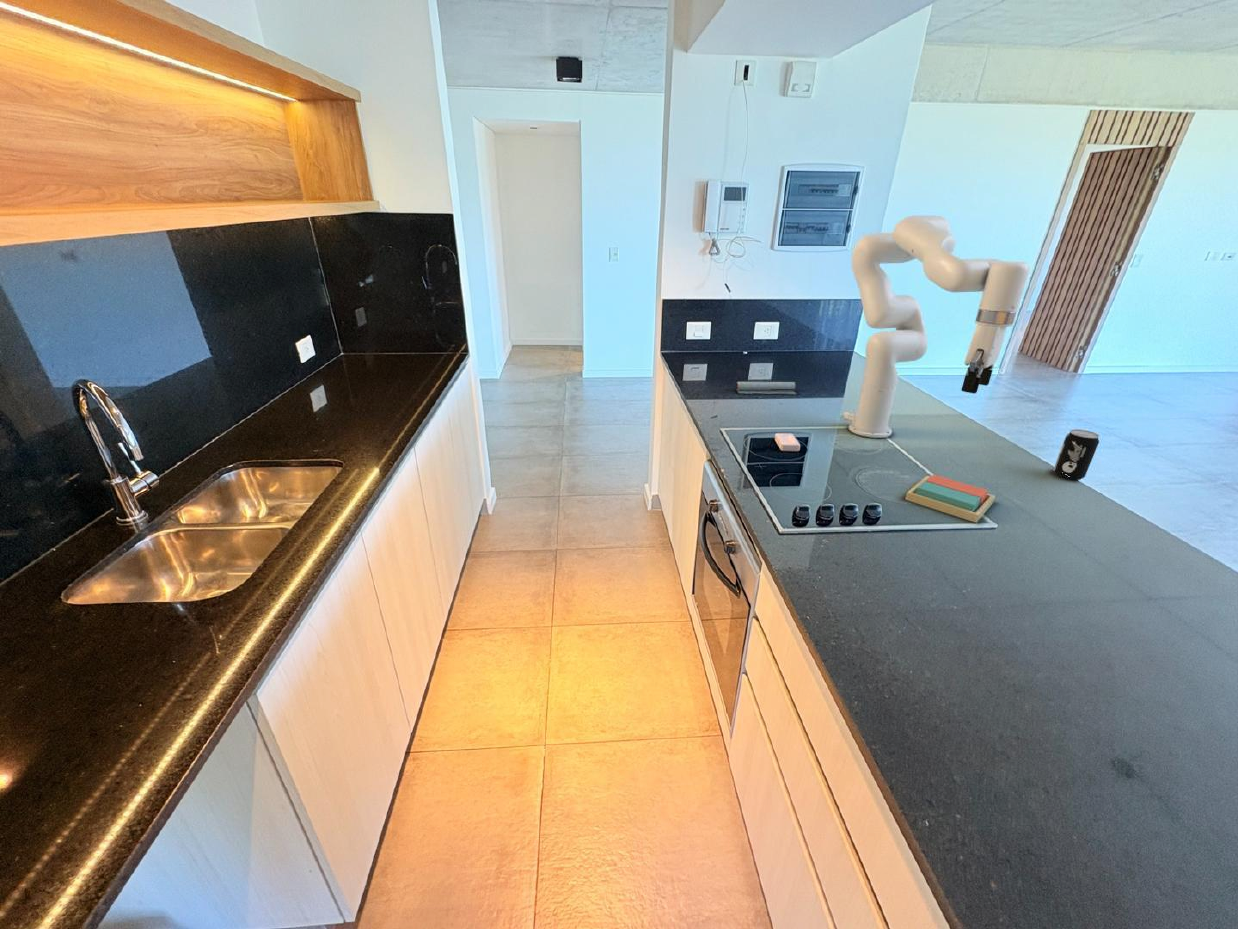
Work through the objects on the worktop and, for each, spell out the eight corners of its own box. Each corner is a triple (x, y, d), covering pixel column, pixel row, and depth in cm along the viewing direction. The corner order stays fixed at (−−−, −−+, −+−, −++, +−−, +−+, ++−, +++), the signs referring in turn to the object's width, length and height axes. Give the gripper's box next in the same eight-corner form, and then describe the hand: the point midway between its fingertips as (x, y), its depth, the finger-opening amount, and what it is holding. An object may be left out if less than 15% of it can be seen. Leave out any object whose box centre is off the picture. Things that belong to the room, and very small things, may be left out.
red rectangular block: (923, 491, 130) (926, 480, 129) (930, 485, 133) (933, 474, 132) (978, 508, 122) (982, 497, 121) (984, 501, 125) (988, 490, 124)
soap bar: (780, 451, 154) (782, 444, 153) (774, 440, 162) (775, 432, 161) (799, 452, 154) (800, 444, 153) (792, 440, 162) (793, 432, 161)
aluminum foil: (792, 389, 211) (793, 380, 209) (797, 394, 204) (798, 385, 203) (735, 388, 211) (736, 380, 210) (738, 393, 205) (739, 385, 204)
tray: (905, 499, 127) (907, 492, 126) (924, 482, 135) (926, 475, 135) (976, 523, 117) (978, 515, 116) (992, 503, 125) (995, 495, 125)
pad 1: (914, 498, 127) (917, 487, 125) (921, 491, 130) (924, 480, 129) (970, 516, 119) (974, 505, 118) (977, 509, 122) (981, 497, 121)
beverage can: (1089, 482, 135) (1107, 438, 130) (1060, 480, 137) (1077, 437, 132) (1074, 471, 141) (1091, 429, 136) (1047, 469, 142) (1062, 427, 137)
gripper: (987, 311, 132) (968, 378, 139) (965, 320, 121) (946, 392, 128) (1023, 315, 127) (1001, 384, 134) (1003, 324, 116) (981, 398, 123)
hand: (974, 388), depth 131 cm, fingers open, 9 cm apart
